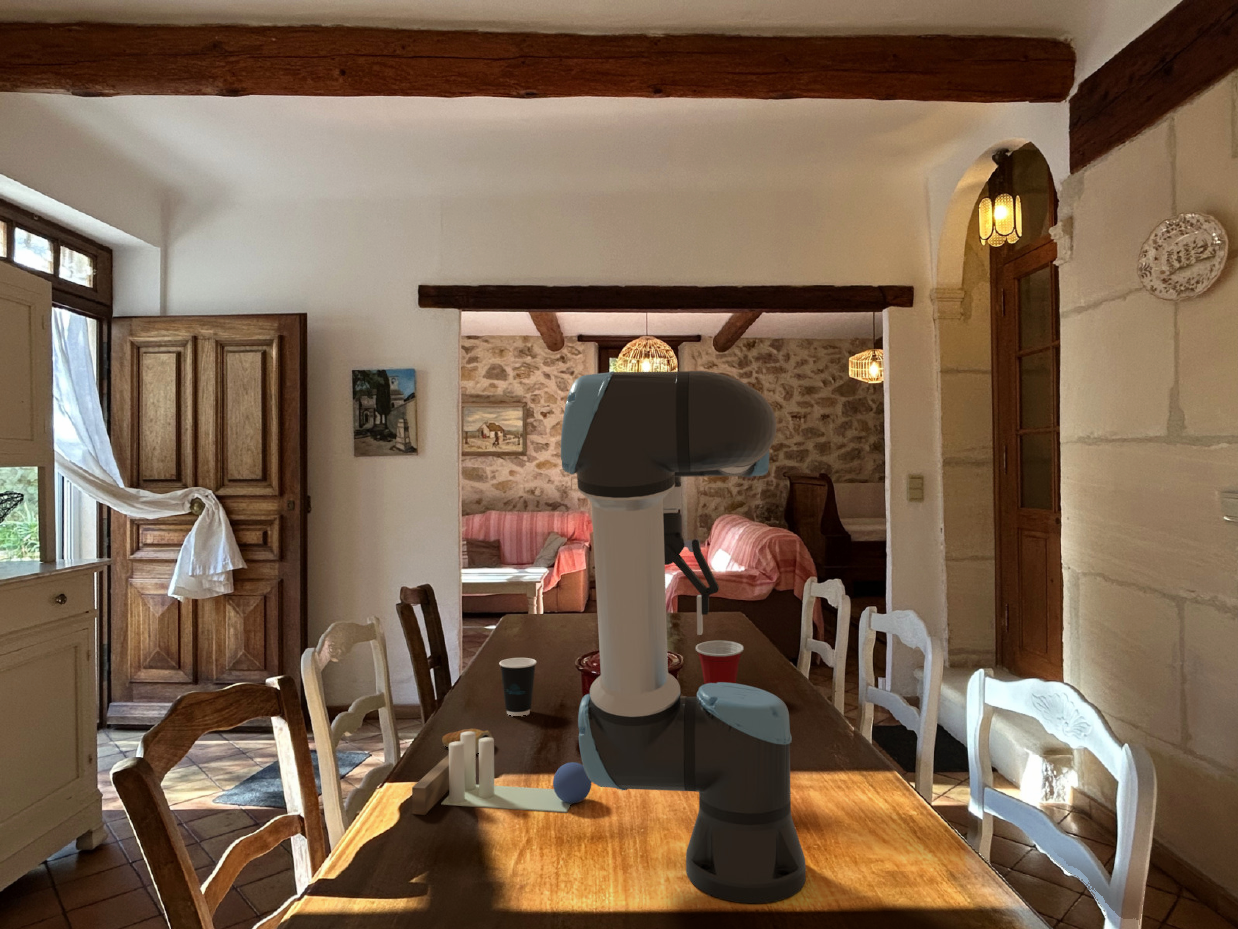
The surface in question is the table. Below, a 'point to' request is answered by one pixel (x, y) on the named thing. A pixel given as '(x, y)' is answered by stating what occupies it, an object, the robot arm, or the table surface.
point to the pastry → (456, 735)
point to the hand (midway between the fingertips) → (661, 632)
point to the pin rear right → (456, 772)
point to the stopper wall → (431, 788)
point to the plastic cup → (719, 660)
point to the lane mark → (515, 799)
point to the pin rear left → (469, 759)
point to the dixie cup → (518, 684)
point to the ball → (571, 783)
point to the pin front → (486, 767)
